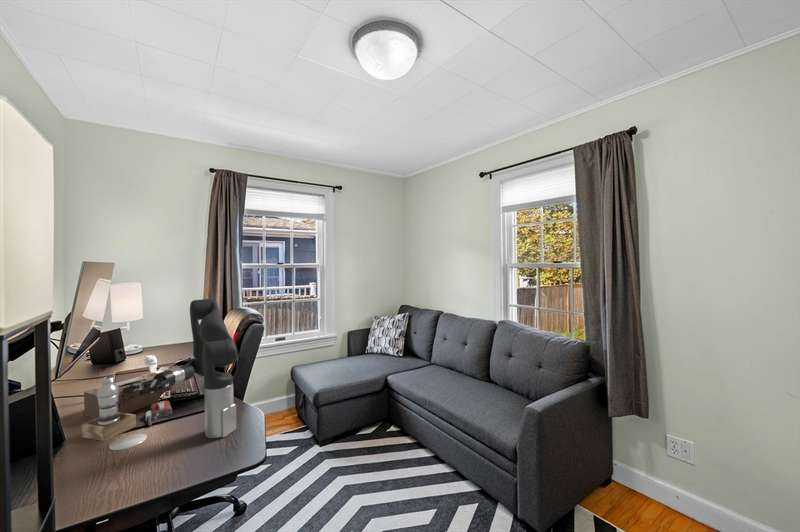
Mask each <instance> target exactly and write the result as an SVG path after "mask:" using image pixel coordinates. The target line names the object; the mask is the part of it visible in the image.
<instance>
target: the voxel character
mask: <svg viewBox="0 0 800 532" xmlns="http://www.w3.org/2000/svg"><path fill="white" fill-rule="evenodd" d="M143 360H144V364H145V365H147V367H148V371H149V372H147V373H144V374H143V375H146V374H150V373H161V372H162V369H161V370H157V368H158V360H157V357H156V356H155V355H154V354H153V355H152V354H149V355H146V356H145V358H144V359H143Z"/></svg>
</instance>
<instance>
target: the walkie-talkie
mask: <svg viewBox="0 0 800 532" xmlns="http://www.w3.org/2000/svg"><path fill="white" fill-rule="evenodd" d="M171 414H173V408H172V406H171V402H170V401H169V400H163V401H160V402H157V403H154V404H152V405H150V406H149V410H148V411H146V412H145V416H144V417H145V421H146V422H147V425H148V426H149V427H151V426H152V424H153V423H152V420H157V419H161V418H164V417H169V416H172V415H171ZM168 415H169V416H168ZM151 419H152V420H151ZM147 420H148V421H147Z"/></svg>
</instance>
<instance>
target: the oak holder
mask: <svg viewBox="0 0 800 532" xmlns="http://www.w3.org/2000/svg"><path fill="white" fill-rule="evenodd" d="M119 416H120V421H118V422H115V423H113V424H111V425H109V426H106V427H103V426H98V421H99V417H98V418H96V419H93V418H92V419H91V420H89V421H86V422H84V423H81V424H80V437H81V438H85V439H92V440H97V441H103V442H106V441H108V440H110V439H112V438H114V437H117V436H119V435H121V434H123V433H126V432H128V431H129V430H132V429H134V428H135V426H136V427H137V414H134V413H120V412H119ZM133 427H134V428H133Z"/></svg>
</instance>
